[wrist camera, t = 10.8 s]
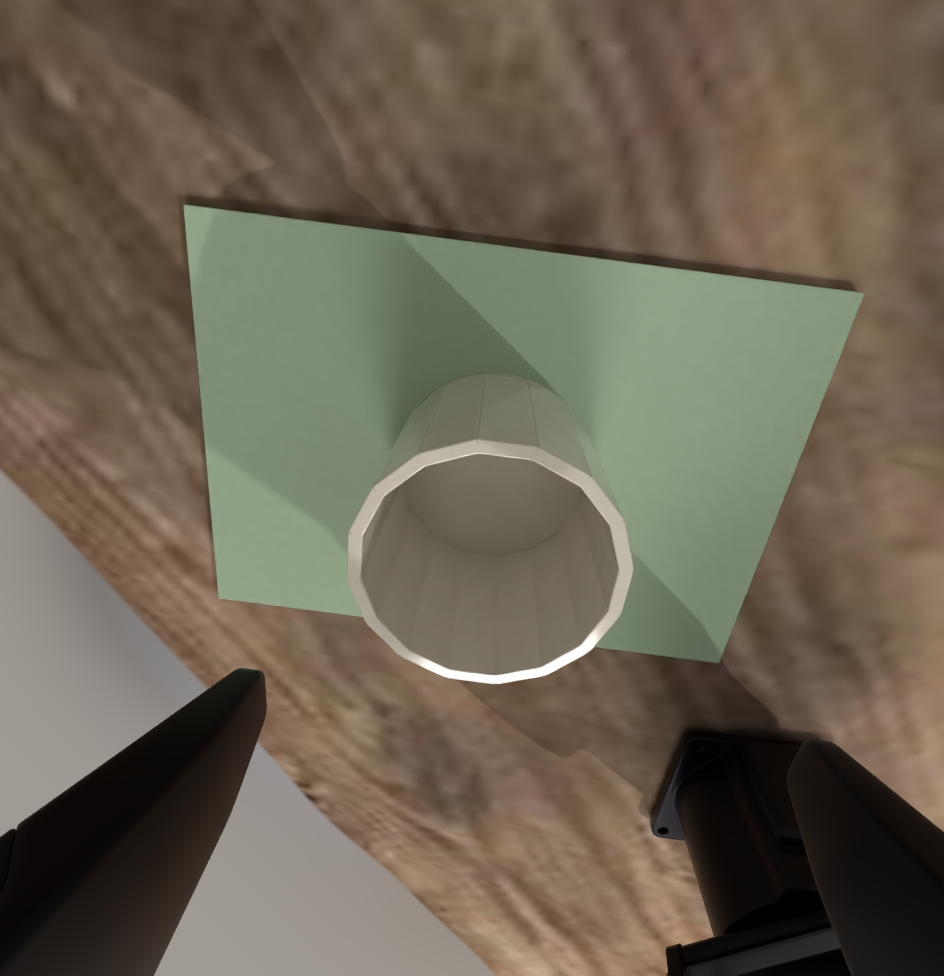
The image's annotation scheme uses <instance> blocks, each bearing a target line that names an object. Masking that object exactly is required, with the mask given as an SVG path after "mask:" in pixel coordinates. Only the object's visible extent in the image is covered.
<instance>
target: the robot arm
mask: <svg viewBox="0 0 944 976" xmlns="http://www.w3.org/2000/svg"><path fill="white" fill-rule="evenodd" d="M266 709H267V704H266V687H265V676H264V673H263V672H262V671H260V670H253V669H245V668H239V669H237V670H235V671H233V672H232V673H230V674H229V675H227V676H226V677H225V678H223V679H222V680H220V681H219V682H218V683H216V684H215V685H213V686H212V687H211V688H209V689H208V690H206V691H205V692H204V693H202V694H201V695H199V696H198V697H196V698H195V699H194V700H192V701H191V702H189V703H188V704H187V705H185V706H184V707H182V708H181V709H180V710H178V711H177V712H175V713H174V714H173V715H171V716H170V717H169V718H167V719H166V720H164V721H163V722H161V723H160V724H159V725H157V726H156V727H154V728H153V729H152V730H150V731H149V732H147V733H146V734H144V735H143V736H142V737H140V738H139V739H137V741H135V742H133V743H132V744H131V745H129V746H128V747H126V748H125V749H124V750H122V751H121V752H119V753H118V754H117V755H115V756H114V757H112V758H111V759H109V760H108V761H107V762H105V763H104V764H102V765H101V766H100V767H98V768H97V769H95V770H94V771H92V772H91V773H90V774H88V775H87V776H85V777H84V778H83V779H81V780H80V781H78V782H77V783H76V784H74V785H73V786H71V787H70V788H69V789H67V790H66V791H65V792H63V793H62V794H60V795H59V796H57V797H56V798H55V799H53V800H52V801H50V802H49V803H48V804H46V805H45V806H43V807H42V808H40V809H39V810H38V811H36V812H35V813H33V814H32V815H31V816H29V817H28V818H26V819H25V820H24V821H22V822H21V823H20V824H19V825H18V826H17V830H16V829H11V830H9V831H8V832H6V833H5V834H4V835H2V836H1V837H0V976H154V974H155V972H156V970H157V968H158V966H159V963H160V961H161V959H162V957H163V955H164V953H165V951H166V949H167V947H168V945H169V943H170V940H171V938H172V936H173V934H174V932H175V930H176V928H177V926H178V924H179V922H180V920H181V917H182V915H183V913H184V911H185V909H186V907H187V905H188V903H189V901H190V899H191V897H192V895H193V893H194V890H195V888H196V886H197V884H198V882H199V880H200V878H201V876H202V874H203V872H204V870H205V867H206V865H207V863H208V861H209V859H210V857H211V855H212V853H213V851H214V849H215V847H216V844H217V842H218V840H219V838H220V836H221V834H222V832H223V830H224V828H225V825H226V823H227V821H228V818H229V816H230V814H231V812H232V809H233V806H234V804H235V801H236V798H237V795H238V793H239V790H240V787H241V785H242V782H243V779H244V776H245V773H246V770H247V768H248V765H249V762H250V759H251V757H252V754H253V751H254V748H255V746H256V743H257V740H258V737H259V734H260V732H261V729H262V726H263V723H264V720H265V716H266ZM650 825H651V829H652V832H653V834H654V835H655V836H657V837H661V838H668V839H676V840H684V841H686V844H687V848H688V851H689V854H690V858H691V861H692V864H693V868H694V871H695V874H696V878H697V881H698V885H699V888H700V891H701V895H702V898H703V901H704V905H705V908H706V911H707V915H708V918H709V921H710V925H711V928H712V931H713V935H714V937H712V938H709V939H705V940H702V941H698V942H695V943H691V944H688V945H684V946H682V945H681V944H676V945H673V946H669V947H666V956H667V966H668V974H667V976H944V832H943V831H942V830H941V829H939V828H938V827H937V826H936V825H934V824H933V823H932V822H931V821H929V820H928V819H927V818H926V817H925V816H923V815H922V814H921V813H920V812H918V811H917V810H916V809H915V808H913V807H912V806H911V805H910V804H909V803H907V802H906V801H905V800H904V799H902V798H901V797H900V796H899V795H897V794H896V793H895V792H894V791H893V790H891V789H890V788H889V787H888V786H886V785H885V784H884V783H883V782H881V781H880V780H879V779H878V778H877V777H875V776H874V775H873V774H872V773H870V772H869V771H868V770H867V769H865V768H864V767H863V766H862V765H861V764H859V763H858V762H857V761H856V760H854V759H853V758H852V757H851V756H849V755H848V754H847V753H846V752H845V751H843V750H842V749H841V748H840V747H838V746H837V745H836V744H834V743H831V742H826V741H819V740H806V741H805V742H803V743H802V744H796V743H789V742H781V741H773V740H766V739H758V738H750V737H743V736H735V735H727V734H720V733H712V732H704V731H690V732H688V733H686V734H685V735H684V736H683V738H682V741H681V743H680V746H679V748H678V751H677V753H676V756H675V759H674V761H673V764H672V766H671V769H670V772H669V774H668V777H667V779H666V782H665V785H664V787H663V790H662V792H661V795H660V797H659V800H658V803H657V805H656V808H655V810H654V813H653V816H652V818H651V821H650Z"/></svg>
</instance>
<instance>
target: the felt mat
mask: <svg viewBox="0 0 944 976" xmlns="http://www.w3.org/2000/svg"><path fill="white" fill-rule="evenodd" d="M183 206H184V217H185V229H186V240H187V251H188V262H189V273H190V284H191V296H192V307H193V318H194V329H195V340H196V352H197V363H198V374H199V385H200V396H201V407H202V419H203V430H204V441H205V452H206V463H207V474H208V486H209V497H210V508H211V519H212V530H213V541H214V553H215V564H216V575H217V586H218V597H219V598H221V599H229V600H237V601H244V602H252V603H260V604H267V605H275V606H283V607H290V608H298V609H306V610H313V611H321V612H329V613H336V614H344V615H352V616H360V617H363V615H362V613H361V611H360V609H359V606H358V604H357V602H356V599H355V597H354V595H353V593H352V590H351V588H350V586H349V583H348V581H347V552H348V532H349V529H350V527H351V525H352V523H353V521H354V519H355V517H356V516H357V514H358V512H359V510H360V508H361V506H362V504H363V502H364V501H365V499H366V497H367V495H368V493H369V491H370V489H371V487H372V485H373V484H374V482H375V480H376V478H377V476H378V474H379V472H380V470H381V469H382V467H383V465H384V463H385V461H386V459H387V457H388V455H389V453H390V452H391V450H392V448H393V446H394V444H395V442H396V440H397V438H398V437H399V435H400V433H401V431H402V429H403V427H404V425H405V423H406V422H407V420H408V418H409V416H410V414H411V412H412V411H413V410H414V409H416V408H417V406H418V405H419V404H420V403H421V402H422V401H423V400H424V399H425V398H426V397H428V396H429V395H430V394H431V393H433V392H434V391H436V390H437V389H439V388H440V387H442V386H444V385H446V384H448V383H450V382H452V381H454V380H457V379H460V378H463V377H466V376H471V375H476V374H485V373H501V374H510V375H515V376H520V377H523V378H526V379H529V380H532V381H534V382H536V383H538V384H541V385H543V386H545V387H546V388H548V389H549V390H551V391H552V392H554V393H555V394H557V395H558V396H559V397H560V398H561V399H562V400H563V401H564V402H566V403H567V405H568V406H569V407H570V408H571V409H572V410H573V412H574V413H575V414H576V416H577V417H578V419H579V421H580V422H581V424H582V426H583V427H584V429H585V430H586V432H587V433H588V435H589V437H590V439H591V442H592V444H593V447H594V449H595V451H596V454H597V456H598V458H599V461H600V463H601V466H602V468H603V470H604V473H605V475H606V477H607V480H608V482H609V484H610V487H611V489H612V492H613V494H614V496H615V499H616V501H617V503H618V506H619V508H620V511H621V513H622V515H623V518H624V520H625V524H626V529H627V534H628V540H629V545H630V550H631V555H632V561H633V566H634V568H633V570H634V571H633V574H632V578H631V581H630V585H629V588H628V592H627V595H626V599H625V602H624V606H623V609H622V613H621V615H620V617H619V618H618V619H617V620H616V622H615V623H614V624H613V625H612V626H611V627H610V629H609V630H608V631H607V632H606V633H605V635H604V636H603V637H602V638H601V639H600V640H599V642H598V643H597V644H596V645H595V646H594V647H598V648H605V649H613V650H621V651H628V652H636V653H644V654H651V655H659V656H667V657H675V658H682V659H690V660H698V661H705V662H713V663H719V662H720V659H721V657H722V654H723V652H724V649H725V647H726V644H727V642H728V639H729V637H730V634H731V631H732V629H733V626H734V624H735V621H736V619H737V616H738V614H739V611H740V609H741V606H742V604H743V601H744V598H745V596H746V593H747V591H748V588H749V586H750V583H751V581H752V578H753V576H754V573H755V570H756V568H757V565H758V563H759V560H760V558H761V555H762V553H763V550H764V548H765V545H766V543H767V540H768V537H769V535H770V532H771V530H772V527H773V525H774V522H775V520H776V517H777V515H778V512H779V510H780V507H781V504H782V502H783V499H784V497H785V494H786V492H787V489H788V487H789V484H790V482H791V479H792V476H793V474H794V471H795V469H796V466H797V464H798V461H799V459H800V456H801V454H802V451H803V449H804V446H805V443H806V441H807V438H808V436H809V433H810V431H811V428H812V426H813V423H814V421H815V418H816V415H817V413H818V410H819V408H820V405H821V403H822V400H823V398H824V395H825V393H826V390H827V388H828V385H829V382H830V380H831V377H832V375H833V372H834V370H835V367H836V365H837V362H838V360H839V357H840V355H841V352H842V349H843V347H844V344H845V342H846V339H847V337H848V334H849V332H850V329H851V327H852V324H853V321H854V319H855V316H856V314H857V311H858V309H859V306H860V304H861V301H862V299H863V296H864V293H863V292H856V291H848V290H840V289H833V288H825V287H817V286H809V285H802V284H794V283H786V282H779V281H771V280H763V279H756V278H748V277H740V276H733V275H725V274H717V273H709V272H702V271H694V270H686V269H679V268H671V267H663V266H656V265H648V264H640V263H633V262H625V261H617V260H610V259H602V258H594V257H586V256H579V255H571V254H563V253H556V252H548V251H540V250H533V249H525V248H517V247H510V246H502V245H494V244H487V243H479V242H471V241H463V240H456V239H448V238H440V237H433V236H425V235H417V234H410V233H402V232H394V231H387V230H379V229H371V228H364V227H356V226H348V225H340V224H333V223H325V222H317V221H310V220H302V219H294V218H287V217H279V216H271V215H264V214H256V213H248V212H241V211H233V210H225V209H217V208H210V207H202V206H194V205H186V204H184V205H183Z"/></svg>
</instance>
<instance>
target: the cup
mask: <svg viewBox="0 0 944 976" xmlns="http://www.w3.org/2000/svg"><path fill="white" fill-rule="evenodd" d="M633 568H634V566H633V561H632V555H631V550H630V545H629V540H628V534H627V529H626V524H625V520H624V518H623V515H622V513H621V511H620V508H619V506H618V503H617V501H616V499H615V496H614V494H613V492H612V489H611V487H610V484H609V482H608V480H607V477H606V475H605V473H604V470H603V468H602V466H601V463H600V461H599V458H598V456H597V454H596V451H595V449H594V447H593V444H592V442H591V439H590V437H589V435H588V433H587V432H586V430H585V429H584V427H583V426H582V424H581V422H580V421H579V419H578V417H577V416H576V414H575V413H574V412H573V410H572V409H571V408H570V407H569V406H568V405H567V403H566V402H564V401H563V400H562V399H561V398H560V397H559V396H558V395H557V394H555V393H554V392H552V391H551V390H549V389H548V388H546V387H545V386H543V385H541V384H538V383H536V382H534V381H532V380H529V379H526V378H523V377H520V376H515V375H510V374H501V373H485V374H476V375H471V376H466V377H463V378H460V379H457V380H454V381H452V382H450V383H448V384H446V385H444V386H442V387H440V388H439V389H437V390H436V391H434V392H433V393H431V394H430V395H429V396H428V397H426V398H425V399H424V400H423V401H422V402H421V403H420V404H419V405H418V406H417V408H416V409H414V410H413V411H412V412H411V414H410V416H409V418H408V420H407V422H406V423H405V425H404V427H403V429H402V431H401V433H400V435H399V437H398V438H397V440H396V442H395V444H394V446H393V448H392V450H391V452H390V453H389V455H388V457H387V459H386V461H385V463H384V465H383V467H382V469H381V470H380V472H379V474H378V476H377V478H376V480H375V482H374V484H373V485H372V487H371V489H370V491H369V493H368V495H367V497H366V499H365V501H364V502H363V504H362V506H361V508H360V510H359V512H358V514H357V516H356V517H355V519H354V521H353V523H352V525H351V527H350V529H349V532H348V552H347V581H348V583H349V586H350V588H351V590H352V593H353V595H354V597H355V599H356V602H357V604H358V606H359V609H360V611H361V613H362V615H363V618H364V620H365V622H366V623H367V625H368V626H369V627H370V628H371V629H372V630H373V631H374V632H375V633H376V634H378V635H379V636H380V637H381V638H382V639H383V640H384V641H385V642H386V643H387V644H388V645H389V646H390V647H391V648H392V649H393V650H394V651H395V652H396V653H397V654H398V655H399V656H401V657H402V658H404V659H406V660H408V661H410V662H412V663H415V664H417V665H419V666H421V667H423V668H425V669H427V670H430V671H432V672H434V673H436V674H438V675H440V676H442V677H446V678H449V679H457V680H465V681H472V682H480V683H488V684H502V683H508V682H514V681H519V680H525V679H531V678H537V677H542V676H545V675H548V674H550V673H552V672H554V671H556V670H558V669H559V668H561V667H563V666H565V665H567V664H569V663H571V662H572V661H574V660H576V659H578V658H580V657H582V656H583V655H585V654H587V653H588V652H590V651H591V650H592V649H593V647H594V646H595V645H596V644H597V643H598V642H599V640H600V639H601V638H602V637H603V636H604V635H605V633H606V632H607V631H608V630H609V629H610V627H611V626H612V625H613V624H614V623H615V622H616V620H617V619H618V618H619V617H620V615H621V613H622V609H623V606H624V602H625V599H626V595H627V592H628V588H629V585H630V581H631V578H632V574H633V571H634V570H633Z"/></svg>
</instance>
